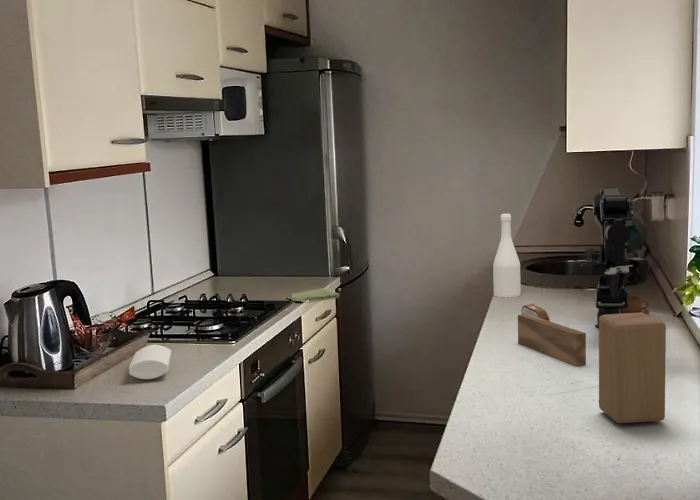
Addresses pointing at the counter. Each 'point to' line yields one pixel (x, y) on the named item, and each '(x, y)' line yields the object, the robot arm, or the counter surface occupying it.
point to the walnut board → (552, 339)
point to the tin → (535, 311)
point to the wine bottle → (506, 264)
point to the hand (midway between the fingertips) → (615, 297)
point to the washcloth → (315, 295)
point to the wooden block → (632, 367)
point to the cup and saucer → (636, 305)
